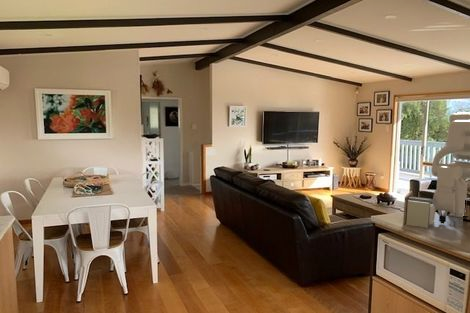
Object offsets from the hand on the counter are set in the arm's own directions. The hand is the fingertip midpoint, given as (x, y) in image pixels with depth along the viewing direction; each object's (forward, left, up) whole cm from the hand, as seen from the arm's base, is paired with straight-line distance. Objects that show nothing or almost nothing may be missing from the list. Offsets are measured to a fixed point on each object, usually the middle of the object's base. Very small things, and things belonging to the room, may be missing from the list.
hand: (442, 222), depth 184 cm
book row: (+8, -11, -1) cm, 14 cm away
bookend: (-8, -11, -1) cm, 13 cm away
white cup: (0, -7, -1) cm, 8 cm away
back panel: (+2, -17, -1) cm, 17 cm away
